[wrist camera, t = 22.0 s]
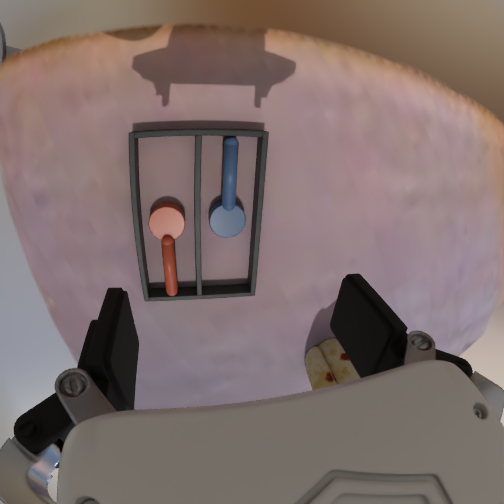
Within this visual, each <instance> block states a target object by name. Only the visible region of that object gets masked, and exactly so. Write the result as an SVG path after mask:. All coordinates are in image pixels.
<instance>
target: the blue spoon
mask: <svg viewBox="0 0 504 504" xmlns="http://www.w3.org/2000/svg"><path fill="white" fill-rule="evenodd" d="M238 144H239V143H238V140H237V139H236V138H234V137H229V138H227V139H225V140H224V142H223V147H224V166H223V192H222V200H221V201H218V202H217V203H215V204H214V205H213V206H212V207H211V209H210V211H209V223H210V227H211V229H212V231H213V232H214V233H215V234H217V235H218V236H221V237H233V236H235V235H237V234H238V233H240V232H241V231H242V229H243V228H244V225H245V221H246V218H245V214H244V212H243V210H242V208H241V206H240V205H239V204H238V203H237V202H235V200H236V180H237V162H238Z"/></svg>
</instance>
